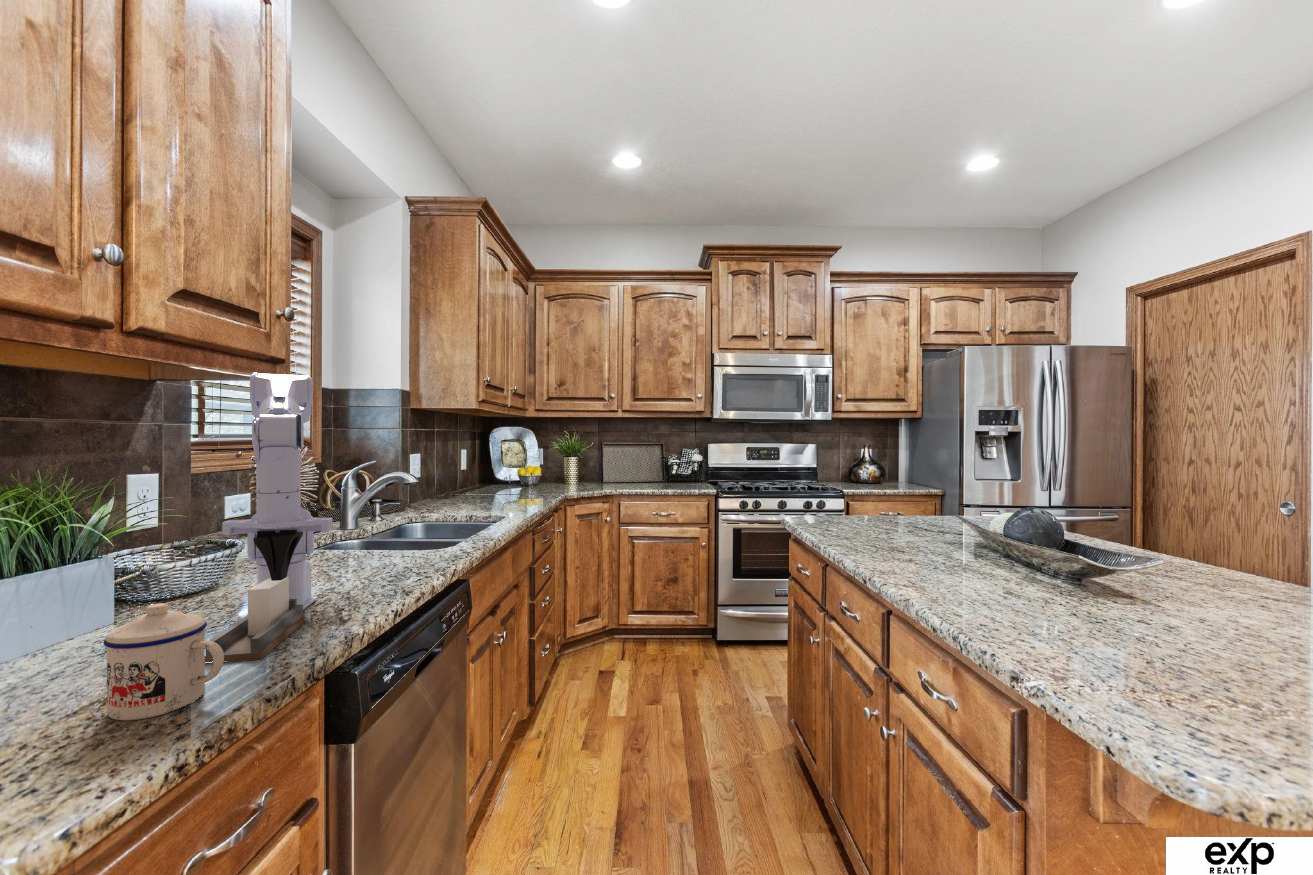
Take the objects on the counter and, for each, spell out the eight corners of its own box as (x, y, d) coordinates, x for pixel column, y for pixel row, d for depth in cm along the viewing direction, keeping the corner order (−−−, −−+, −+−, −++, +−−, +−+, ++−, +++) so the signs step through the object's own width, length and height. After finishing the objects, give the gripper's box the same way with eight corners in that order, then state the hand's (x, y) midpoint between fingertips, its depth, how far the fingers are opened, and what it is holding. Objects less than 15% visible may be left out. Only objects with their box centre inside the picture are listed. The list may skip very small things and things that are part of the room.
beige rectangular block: (247, 635, 85) (247, 589, 85) (268, 620, 92) (268, 578, 92) (270, 633, 86) (269, 588, 86) (289, 619, 93) (288, 577, 93)
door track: (257, 625, 93) (257, 601, 93) (304, 621, 94) (304, 598, 94) (203, 663, 77) (203, 635, 77) (260, 659, 79) (260, 631, 79)
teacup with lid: (79, 723, 61) (79, 618, 61) (152, 686, 71) (151, 594, 70) (191, 722, 62) (190, 617, 62) (249, 685, 71) (248, 593, 71)
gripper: (210, 495, 81) (211, 588, 81) (320, 493, 84) (321, 583, 84) (235, 490, 88) (236, 576, 88) (337, 488, 91) (337, 571, 91)
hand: (279, 578), depth 87 cm, fingers closed
